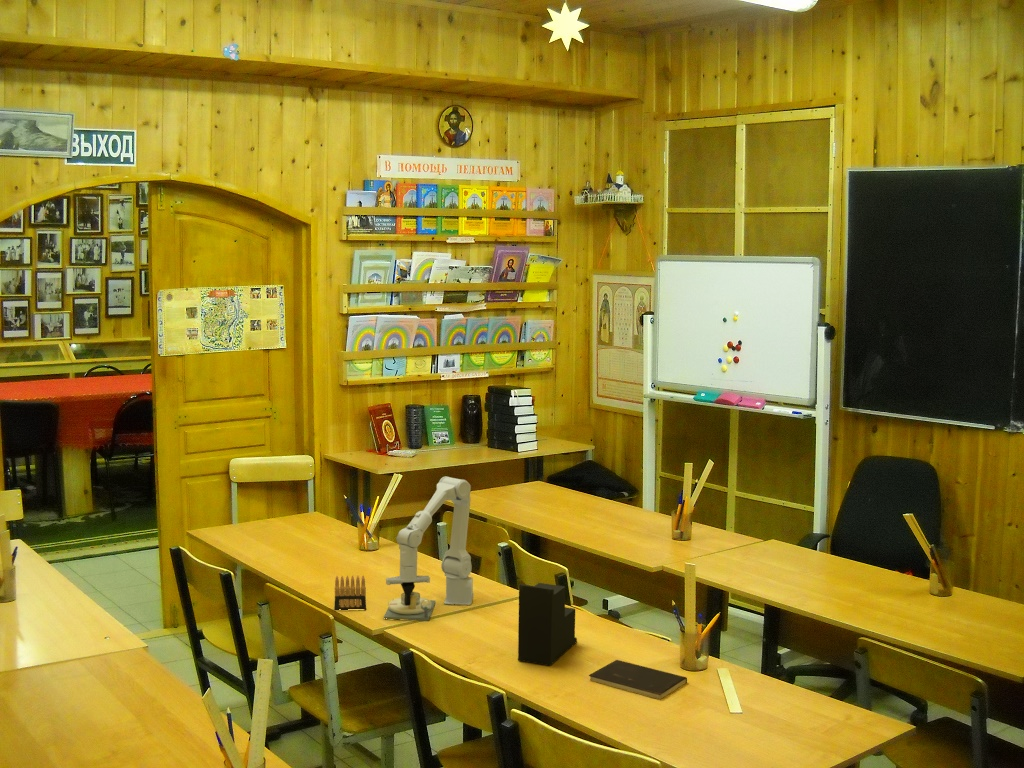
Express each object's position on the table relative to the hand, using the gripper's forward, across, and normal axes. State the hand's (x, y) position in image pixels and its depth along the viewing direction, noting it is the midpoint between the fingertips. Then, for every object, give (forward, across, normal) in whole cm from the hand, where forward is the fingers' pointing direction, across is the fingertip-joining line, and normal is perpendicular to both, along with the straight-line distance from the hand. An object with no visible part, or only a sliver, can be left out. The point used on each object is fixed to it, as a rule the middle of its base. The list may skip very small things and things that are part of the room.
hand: (407, 604), depth 371 cm
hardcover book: (+5, -49, +75) cm, 90 cm away
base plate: (+4, -2, -6) cm, 7 cm away
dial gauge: (+4, -5, +5) cm, 8 cm away
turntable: (+3, -2, -6) cm, 7 cm away
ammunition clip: (+5, +16, -13) cm, 22 cm away
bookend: (+4, -33, +45) cm, 56 cm away
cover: (+1, -2, -6) cm, 6 cm away
